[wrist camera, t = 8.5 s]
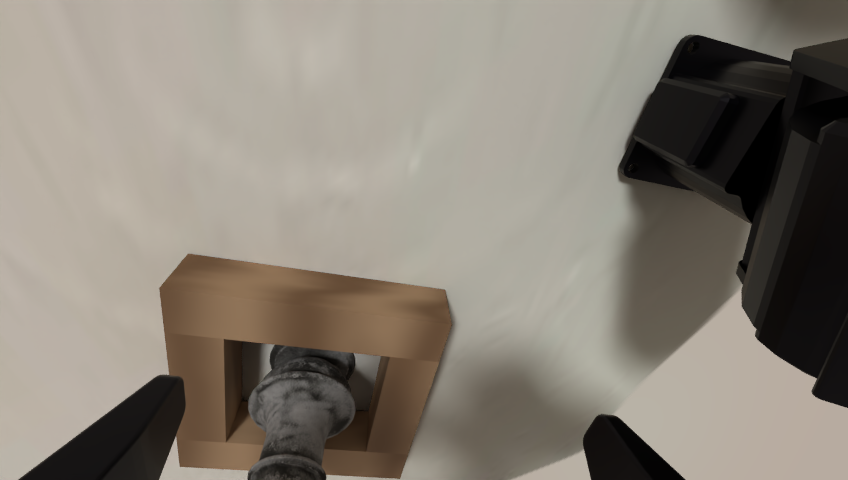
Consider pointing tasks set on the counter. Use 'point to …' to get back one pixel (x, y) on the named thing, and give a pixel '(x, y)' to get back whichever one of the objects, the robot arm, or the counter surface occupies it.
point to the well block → (300, 327)
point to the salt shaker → (300, 411)
